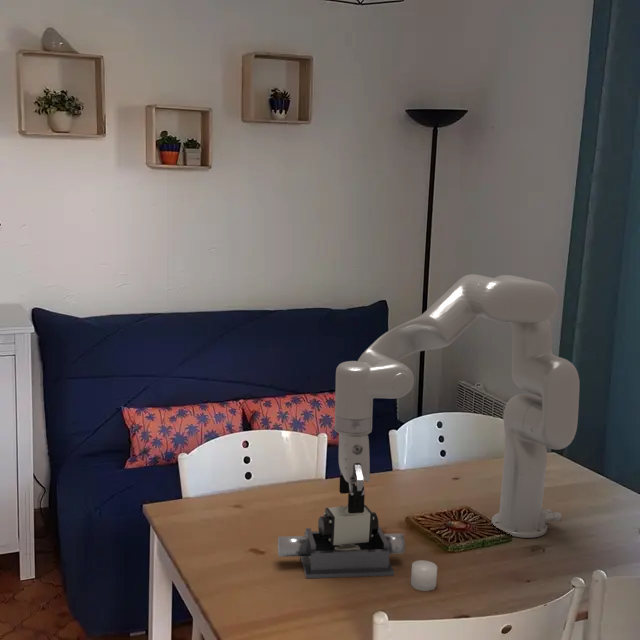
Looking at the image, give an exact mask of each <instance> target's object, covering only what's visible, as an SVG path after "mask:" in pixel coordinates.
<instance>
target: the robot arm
mask: <svg viewBox="0 0 640 640" xmlns="http://www.w3.org/2000/svg"><path fill="white" fill-rule="evenodd" d="M558 306H559V296H558V293H557V291H556V290H555V289H554V287H553V286H552V285H550V284H549V283H546V282H544V281H539V280H534V279H529V278H527V277H522V276H517V275H513V274H512V275H511V274H503V275H502V274H501V275H498V276H496V277H490V276H485V275H481V274H475V273H473V274H472V273H471V274H466V275H464V276H462V277H460V278H459V279H458V280H457V281H456V282H455V283H454V284H453V285H452V286H450V288H449V289H447V290H446V292H444V293H443V294H442V295H441V296H440V297H438V299H437V300H436V301H435V302H434V303H433V304H432V305H431V306H430V307H429V308H428V309H426V310H425V311H424V312H423V313H422V314H421V315H419V316H417V317H415V318H412V319H410V320H408V321H406V322H404V323H402V324H399V325H398V326H395V327H394V328H392V329H389V330H388V331H386V332H385V333H383V334H381V336H379V337H378V338H377V339H376V340H374V342H373V343H372V344H370V345H369V346H368V348H366V349H364V352H362V353H361V355H360V357H359V358H358V360H349V361H348V360H347V361H343V362H341V363H339V364H338V366H337V367H336V370H335V390H334V391H335V392H334V393H335V395H334V431H335V432H336V433H338V435H339V436H338V465H339V466H338V468H339V471H340V474H339V493H340V495H341V494H342V495H345V494H348V495H347V496H348V497H347V505H348V512H349V513H363V512H364V505H365V497H366V494H365V484H364V482H366V483H368V482H370V478H371V476H370V475H371V474H370V473H371V472H370V471H371V470H370V467H371V466H370V464H371V463H370V440H369V434H371V433H372V430H373V407H374V405H373V404H374V399H390V400H392V399H399V398H403V397H404V396H406V395H408V394H409V393H410V392H411V390H412V389H413V387H414V384H415V376H414V372H413V371H412V370H411V369H410V367H409V366H407V365H406V364H405V363H402V362H401V360H403V359H404V358H406V357H407V356H411V355H413V354H415V353H419V352H424V351H431V350H437V349H442V348H446V347H448V346H450V345H451V344H452V343H453V342H454V341H456V339H458V338H459V337H460V336H461V334H463V332H465V331H466V330H467V329H468V327H470V326H471V325H472V324H473V323H474V322H475V321H476V320H477V319H478V318H483V319H487V320H488V321H489V320H490V321H494V322H502V323H509V324H510V328H511V335H512V337H511V338H512V340H511V341H512V346H511V347H512V349H511V378H512V382H513V383H514V385H515V386H517V388H519V389H521V390H523V391H525V392H528V393H519V394H516V395H514V396H512V397H511V398H510V399H508V401H507V402H506V404H505V406H504V410H503V414H502V415H503V417H502V418H503V419H502V420H503V428H504V454H503V455H504V457H503V465H502V466H503V467H502V476H501V477H502V478H501V490H500V502H499V510H498V512H497V513H495V514H494V515H492V517H491V524H492V523H493V525H494V526H496V527H497V528H499V529H501V530H503V531H505V532H508V533H510V534H511V535H512V537H516V538H522V539H524V538H525V539H527V538H528V539H529V538H530V539H531V538H539V537H542V536H543V535H545V534H546V533H547V531H548V524H547V523H549V522H550V521H553V522H560V521H561V520H562V513H561V512H557V511H556V512H553V511H552V509H550V508H548V509H543V502H544V501H543V500H544V492H545V491H544V490H545V483H546V472H547V471H546V470H547V462H548V453H547V448H548V449H552V450H562V449H565V448H567V447H568V446H569V445H571V444H572V442H573V440H574V439H575V436H576V435H577V434H576V433H577V431H578V430H577V429H578V420H579V407H580V406H579V405H580V403H579V402H580V377H579V372H578V370H577V368H576V367H575V364H573V363H572V362H571V361H569V360H568V359H566V358H563V357H560V356H557V355H554V353H553V349H552V346H553V345H552V341H553V338H552V337H553V336H552V324H551V321H550V319H551V318H552V317H553V316H554V314H555V313H556V311H557V310H558ZM529 393H530V394H529ZM493 525H492V526H493ZM511 535H510V536H511Z"/></svg>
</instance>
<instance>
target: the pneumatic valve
mask: <svg viewBox="0 0 640 640" xmlns="http://www.w3.org/2000/svg"><path fill="white" fill-rule="evenodd" d="M317 524H318V526H317V528H318V531H319V534H320V537H321V538H326V540H327V541H328V543H329V544H330V546H333V545H336V546H337V547H335V548H334V549H333V551H337V550H360V547H359V546H358V545H356V543H365V542H372V537H373V534H375V533H377V532H378V528H379V527H380V526H379V525H380V524H379V518H378V515H377V513H376V512H375V511H371V509H370V508H369V507H368V506H367V505H366V504H364V512H363V513H349V512H348V504H346V505H345V506H343V505H339V506H334V507H333V506H332V507H325V509H324V512H323V515H321V516H319V517H318V522H317Z"/></svg>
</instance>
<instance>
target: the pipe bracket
mask: <svg viewBox="0 0 640 640" xmlns="http://www.w3.org/2000/svg"><path fill="white" fill-rule="evenodd" d="M311 529H312V528H309V527H308V528H307V527H306V528H305V531H304V535H296V536H295V535H294V536H292V535H290V536H289V535H287V536H278V538H277V556H278V557H279V558H284V557H286V558H288V557H300V561H301V563H302V565H301V566H302V568H303V571H304V575H305V579H325V578H328V579H330V578H356V577H358V578H359V577H360V578H361V577H385V576H386V577H387V576H389V577H390V576H391V577H392V576H395V570H394V568H393V566H392V564H391V562H390V554H391V555H392V554H404V553H405V548H406V541H405V536H404V533H384V532H383V529H382V527H381V526H379V528H378V532H377V533H375V534H373V537H372V542H365V543H356V545H358V546H359V547H360V550H337V551H333V549H334V548H335V547H337V546H336V545H333V546H330V544H329V543H328V541H327V540H326V538H321V537H320V534H319V530H318V531H317V530H315V531H313V530H311Z"/></svg>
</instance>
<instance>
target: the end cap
mask: <svg viewBox="0 0 640 640" xmlns="http://www.w3.org/2000/svg"><path fill="white" fill-rule="evenodd" d="M410 574H411V575H410V586H411V587H412V588H413V589H415V590H417V591H421V592H430V590H431V591H434V590H435V589H436V588H437V579H438V578H437V576H438V566H437V564H436V563H434V562H432V561H429V560H423V559H421V560H420V559H419V560H415V561H413V562H412V563H411V572H410ZM435 587H436V588H435Z"/></svg>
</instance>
